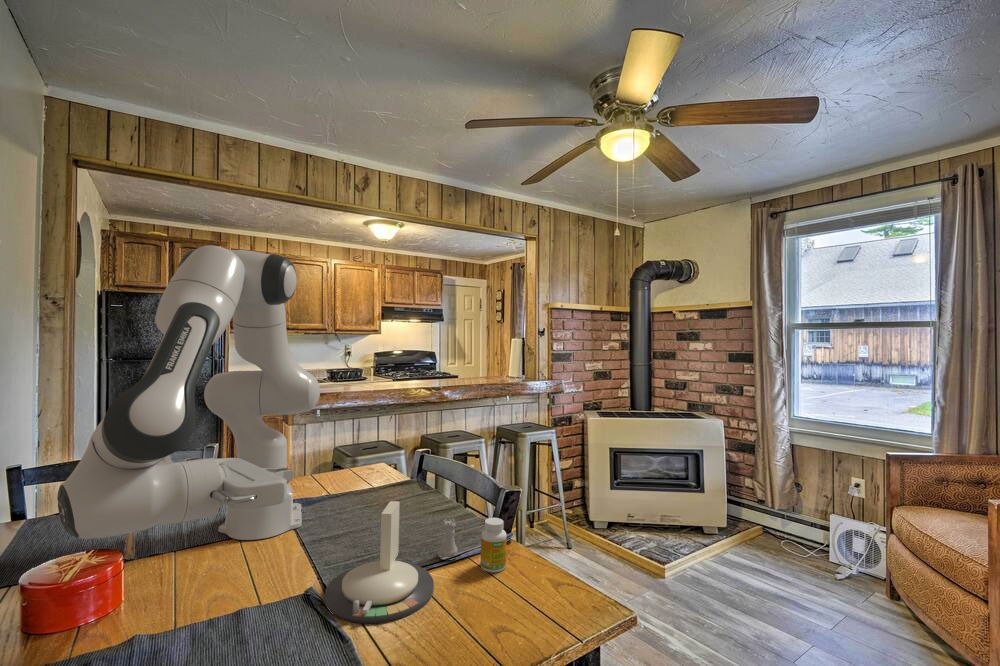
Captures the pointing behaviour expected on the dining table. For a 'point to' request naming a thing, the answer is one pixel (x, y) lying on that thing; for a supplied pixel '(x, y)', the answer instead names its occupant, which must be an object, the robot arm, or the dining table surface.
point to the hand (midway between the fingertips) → (289, 473)
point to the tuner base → (378, 613)
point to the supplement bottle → (493, 546)
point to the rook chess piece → (448, 539)
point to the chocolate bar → (129, 546)
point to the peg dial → (382, 569)
